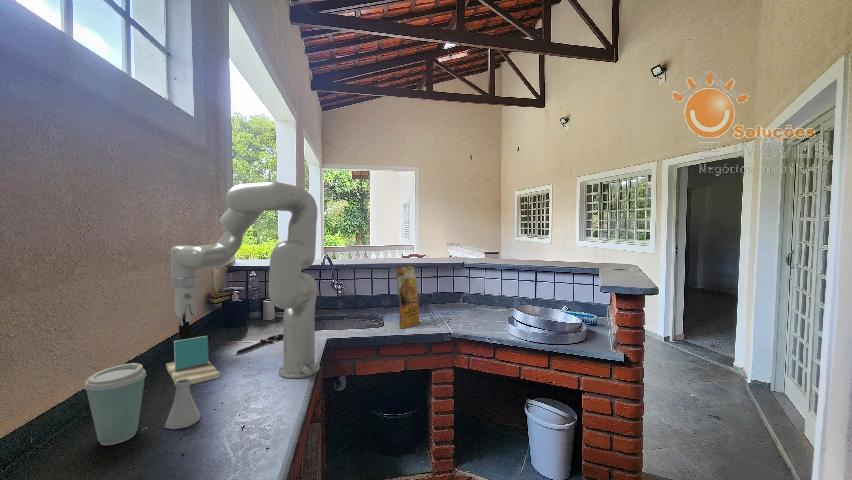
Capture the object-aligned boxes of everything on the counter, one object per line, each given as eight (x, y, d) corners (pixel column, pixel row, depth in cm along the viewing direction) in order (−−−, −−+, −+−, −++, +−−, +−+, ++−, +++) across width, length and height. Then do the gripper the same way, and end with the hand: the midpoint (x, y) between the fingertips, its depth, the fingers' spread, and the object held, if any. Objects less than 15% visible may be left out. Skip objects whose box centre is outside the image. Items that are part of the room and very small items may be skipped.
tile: (207, 363, 123) (208, 364, 122) (174, 370, 117) (175, 371, 116) (206, 335, 123) (207, 336, 122) (173, 341, 117) (174, 341, 116)
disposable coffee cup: (96, 458, 76) (94, 384, 75) (77, 441, 81) (75, 372, 81) (156, 433, 85) (155, 367, 84) (135, 420, 90) (133, 358, 90)
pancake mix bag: (390, 328, 173) (391, 267, 172) (412, 319, 189) (413, 264, 188) (403, 330, 169) (403, 268, 168) (424, 321, 186) (424, 265, 185)
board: (219, 377, 116) (219, 372, 116) (177, 387, 108) (177, 382, 108) (204, 360, 130) (204, 355, 130) (166, 368, 123) (166, 363, 123)
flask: (175, 415, 93) (175, 375, 92) (206, 414, 93) (206, 374, 93) (157, 431, 86) (156, 387, 85) (190, 430, 86) (190, 387, 86)
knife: (237, 357, 135) (237, 353, 135) (225, 354, 137) (225, 350, 137) (290, 338, 157) (290, 335, 157) (279, 336, 160) (279, 333, 160)
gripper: (202, 284, 123) (203, 339, 123) (192, 279, 134) (193, 330, 134) (175, 286, 118) (175, 344, 118) (167, 280, 129) (167, 334, 129)
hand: (185, 336), depth 126 cm, fingers closed
